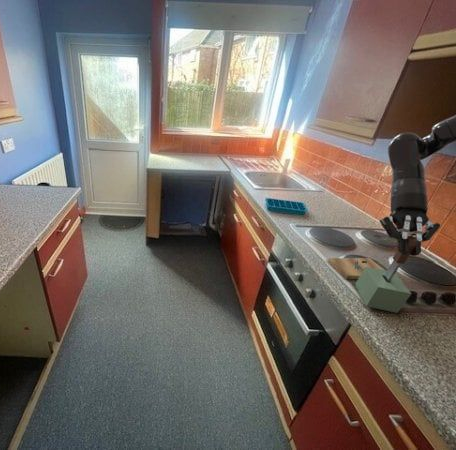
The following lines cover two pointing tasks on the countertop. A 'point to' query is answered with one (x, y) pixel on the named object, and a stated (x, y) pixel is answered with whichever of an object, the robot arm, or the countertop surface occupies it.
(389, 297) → the grey-green block
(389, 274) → the knife
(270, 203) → the ice cube tray
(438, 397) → the countertop surface
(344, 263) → the cutting board
